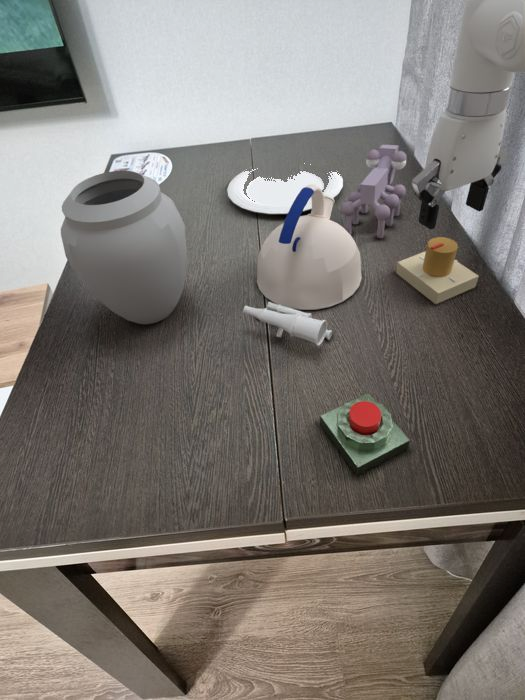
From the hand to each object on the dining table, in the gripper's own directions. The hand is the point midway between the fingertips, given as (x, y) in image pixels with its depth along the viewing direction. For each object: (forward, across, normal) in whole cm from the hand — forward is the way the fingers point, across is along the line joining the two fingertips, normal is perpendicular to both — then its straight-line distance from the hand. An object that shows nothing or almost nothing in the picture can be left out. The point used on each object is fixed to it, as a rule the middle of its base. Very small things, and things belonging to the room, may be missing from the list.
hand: (450, 216), depth 71 cm
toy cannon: (+14, +29, -2) cm, 33 cm away
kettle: (+13, +18, -14) cm, 27 cm away
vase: (+13, +48, -21) cm, 55 cm away
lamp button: (+10, +30, +21) cm, 38 cm away
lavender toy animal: (+13, -6, -26) cm, 29 cm away
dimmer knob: (+11, -1, -1) cm, 11 cm away
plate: (+13, +6, -49) cm, 51 cm away
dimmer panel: (+14, -1, -1) cm, 14 cm away
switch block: (+14, +30, +21) cm, 39 cm away
